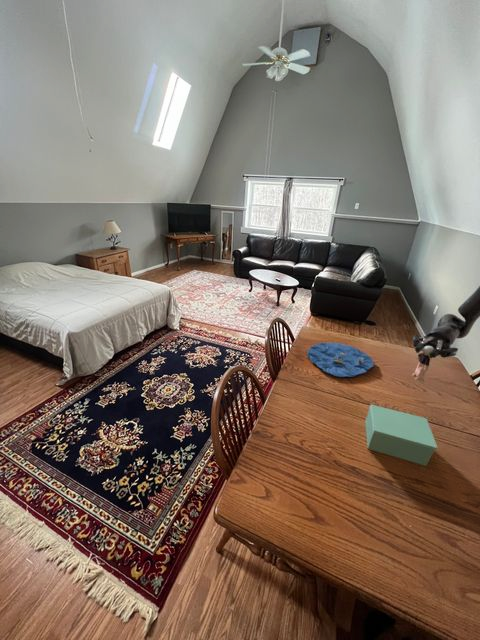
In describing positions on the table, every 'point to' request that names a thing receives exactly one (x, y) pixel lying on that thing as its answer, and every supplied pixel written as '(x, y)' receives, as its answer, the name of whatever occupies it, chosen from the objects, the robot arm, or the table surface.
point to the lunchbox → (396, 446)
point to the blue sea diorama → (339, 359)
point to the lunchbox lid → (402, 426)
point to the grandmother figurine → (423, 363)
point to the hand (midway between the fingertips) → (424, 352)
